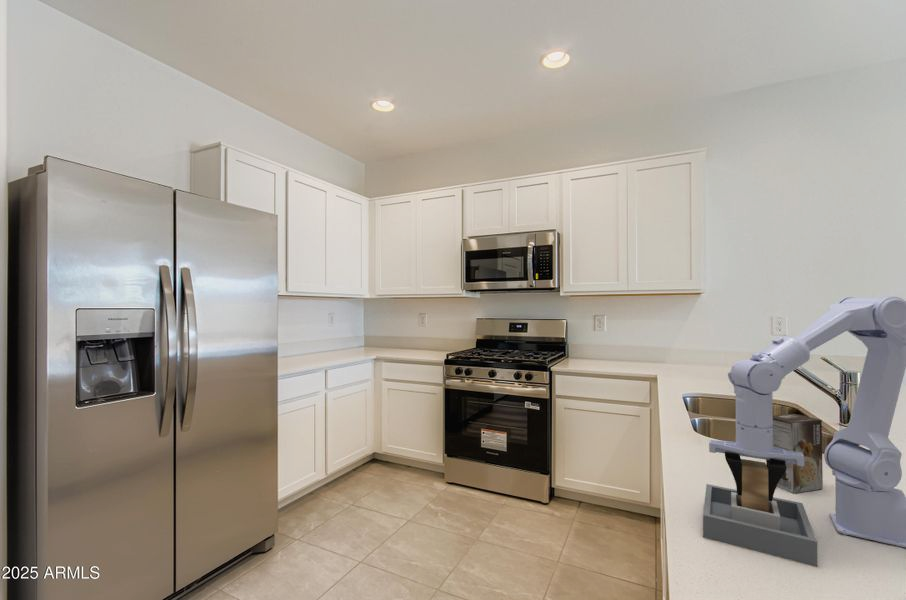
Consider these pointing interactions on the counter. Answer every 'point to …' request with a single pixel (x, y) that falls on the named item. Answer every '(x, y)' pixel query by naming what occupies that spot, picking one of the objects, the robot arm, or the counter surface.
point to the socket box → (759, 525)
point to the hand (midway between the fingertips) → (754, 496)
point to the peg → (754, 485)
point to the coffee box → (801, 438)
